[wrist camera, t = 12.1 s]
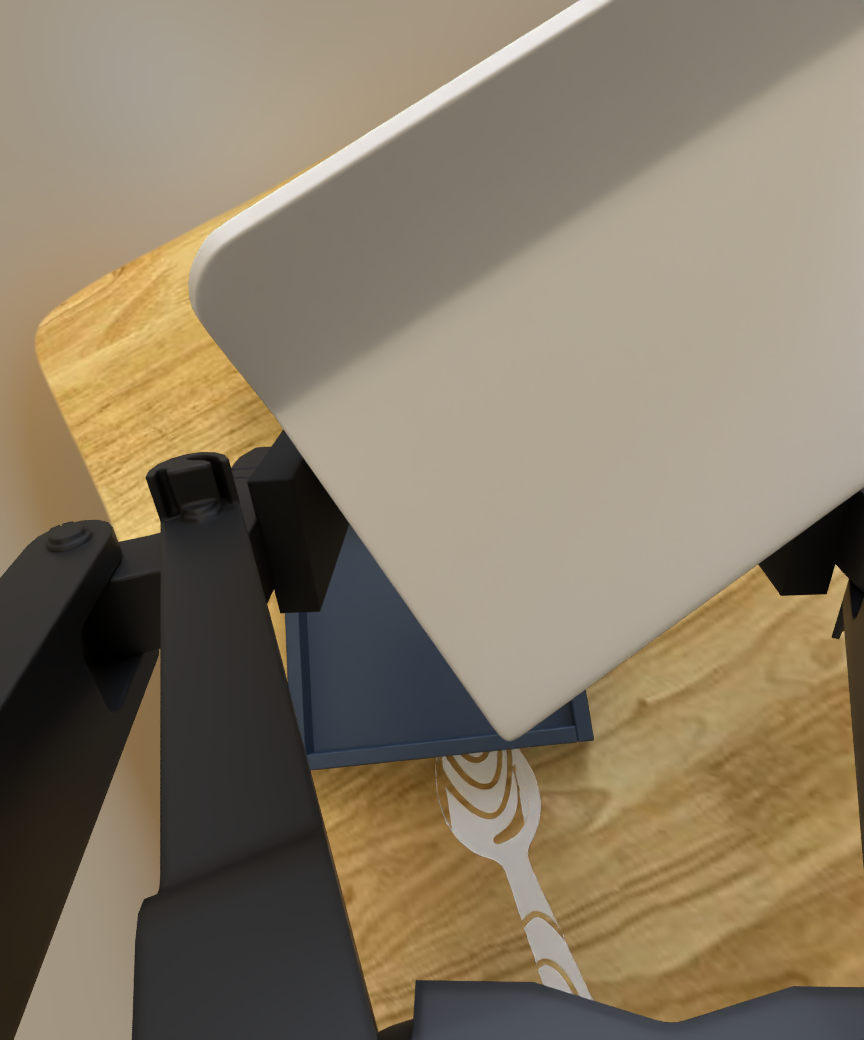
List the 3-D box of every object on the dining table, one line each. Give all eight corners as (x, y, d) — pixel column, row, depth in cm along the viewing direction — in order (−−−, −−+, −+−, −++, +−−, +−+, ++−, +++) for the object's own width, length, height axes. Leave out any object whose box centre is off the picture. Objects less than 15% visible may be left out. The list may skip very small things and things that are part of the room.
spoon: (554, 1110, 29) (555, 1118, 29) (414, 737, 34) (413, 738, 34) (658, 1066, 29) (661, 1073, 29) (503, 700, 34) (503, 700, 34)
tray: (544, 472, 37) (547, 460, 35) (588, 737, 33) (594, 740, 31) (290, 506, 38) (279, 496, 36) (303, 767, 34) (291, 772, 32)
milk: (409, 575, 25) (-76, -56, 4) (531, 490, 25) (690, -495, 4) (499, 706, 23) (499, 843, 2) (627, 613, 24) (1665, -19, 3)
